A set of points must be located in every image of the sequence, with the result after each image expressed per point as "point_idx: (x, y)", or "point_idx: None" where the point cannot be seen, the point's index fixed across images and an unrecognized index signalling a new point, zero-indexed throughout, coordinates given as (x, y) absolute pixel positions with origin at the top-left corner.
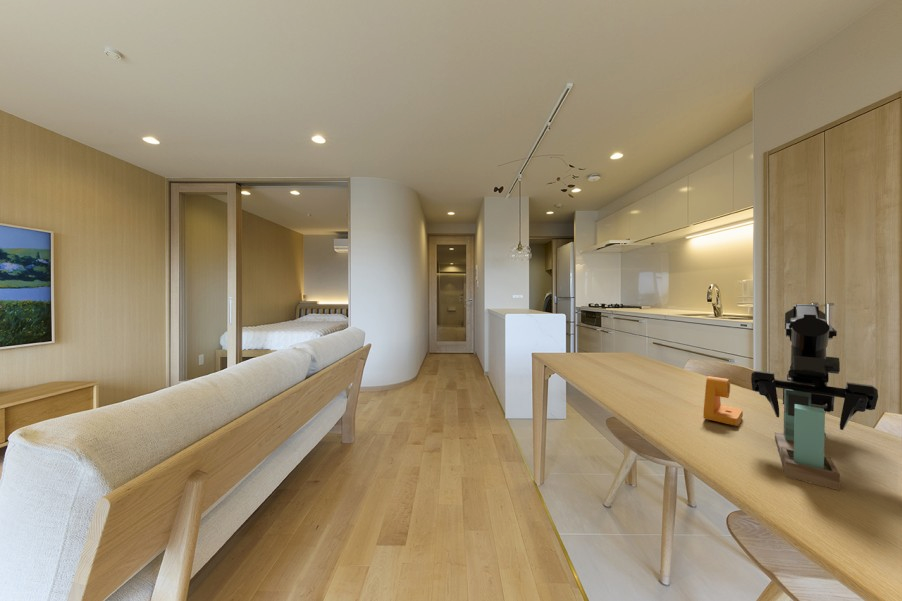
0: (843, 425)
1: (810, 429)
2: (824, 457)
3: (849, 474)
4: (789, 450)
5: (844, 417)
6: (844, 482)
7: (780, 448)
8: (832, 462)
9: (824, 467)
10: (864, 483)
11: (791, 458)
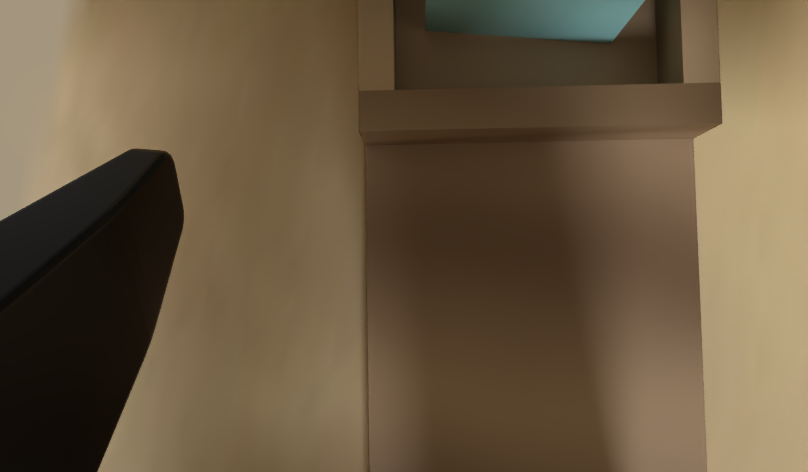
0: (117, 157)
1: None
2: (402, 95)
3: (253, 211)
4: (656, 84)
5: (11, 244)
6: (312, 12)
7: (692, 280)
8: (360, 4)
9: (412, 41)
10: (196, 94)
11: (623, 66)
